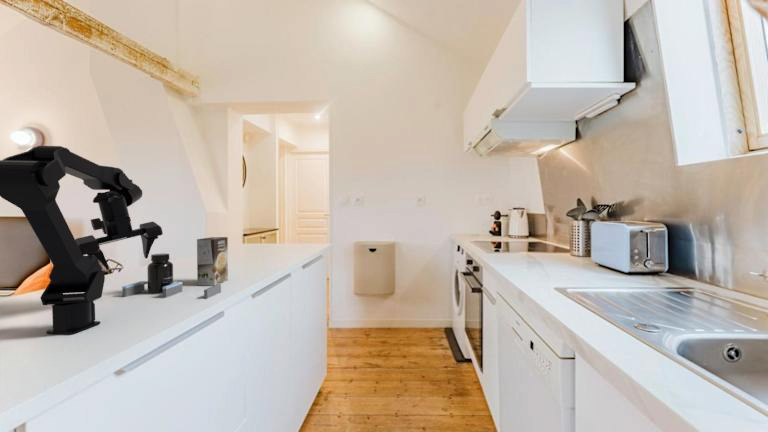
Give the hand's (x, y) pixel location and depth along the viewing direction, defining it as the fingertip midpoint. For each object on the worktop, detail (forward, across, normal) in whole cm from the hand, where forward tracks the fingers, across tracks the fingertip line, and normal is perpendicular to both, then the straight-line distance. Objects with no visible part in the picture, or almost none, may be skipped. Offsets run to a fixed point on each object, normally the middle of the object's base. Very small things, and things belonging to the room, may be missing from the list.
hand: (127, 263), depth 94 cm
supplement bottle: (+14, -7, -1) cm, 15 cm away
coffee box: (+17, -22, +1) cm, 28 cm away
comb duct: (+12, -8, +6) cm, 15 cm away
